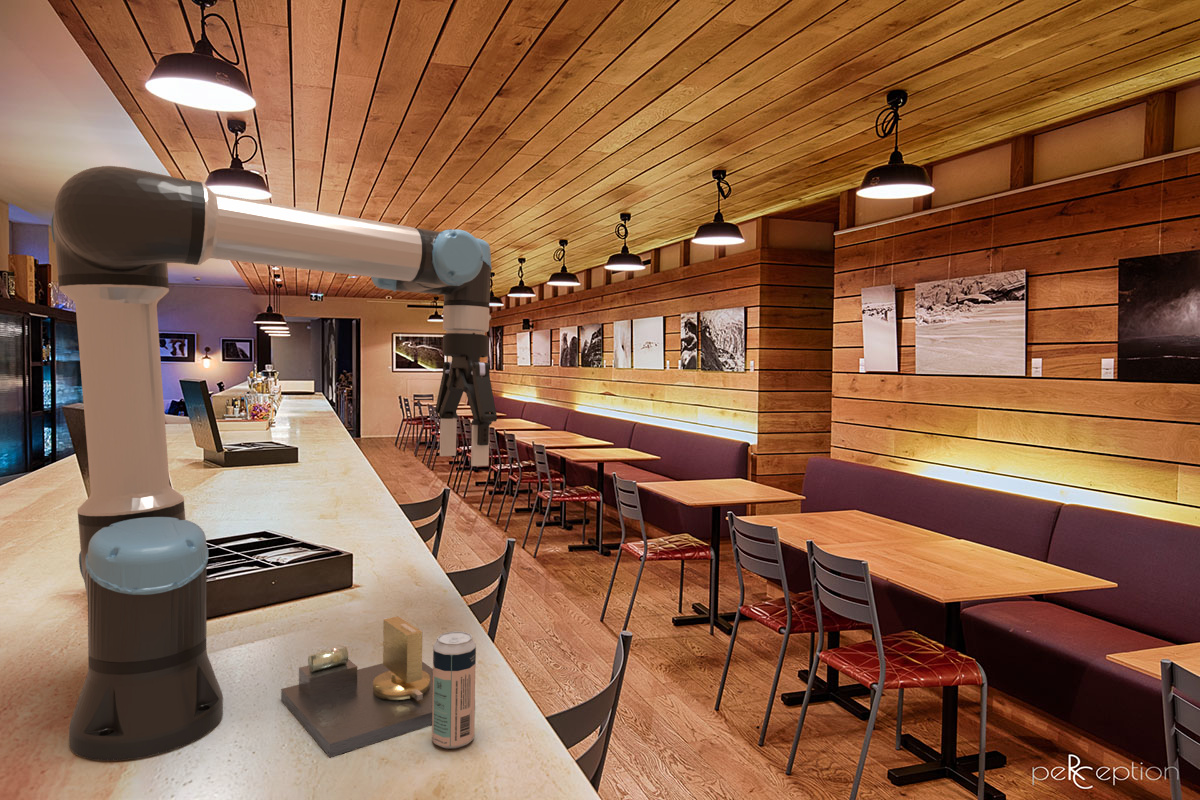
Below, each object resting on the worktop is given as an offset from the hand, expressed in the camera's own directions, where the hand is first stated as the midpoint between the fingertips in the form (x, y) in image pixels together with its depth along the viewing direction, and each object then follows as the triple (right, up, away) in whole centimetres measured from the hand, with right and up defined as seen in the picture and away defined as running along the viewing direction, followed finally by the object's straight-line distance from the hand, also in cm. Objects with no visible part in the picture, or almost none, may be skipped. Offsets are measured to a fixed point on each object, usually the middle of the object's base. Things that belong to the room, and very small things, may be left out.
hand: (463, 460), depth 122 cm
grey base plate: (-5, -28, -31) cm, 42 cm away
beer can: (+6, -29, -39) cm, 49 cm away
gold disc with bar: (-2, -26, -29) cm, 40 cm away
